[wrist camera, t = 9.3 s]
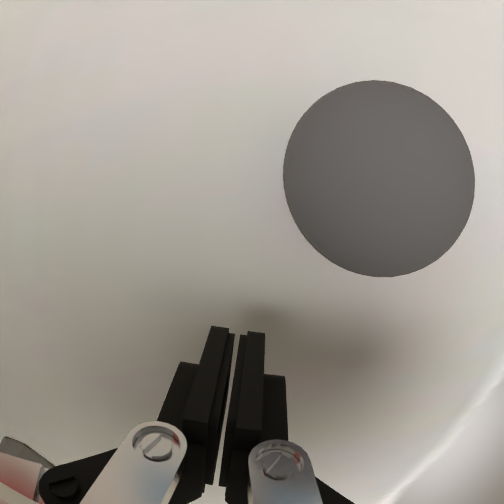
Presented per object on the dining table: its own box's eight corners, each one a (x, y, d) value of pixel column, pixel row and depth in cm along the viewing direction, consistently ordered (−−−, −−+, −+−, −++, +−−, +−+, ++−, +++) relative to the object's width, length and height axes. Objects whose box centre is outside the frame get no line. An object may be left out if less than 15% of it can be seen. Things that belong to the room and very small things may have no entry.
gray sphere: (449, 32, 4) (294, 50, 8) (339, 299, 5) (220, 206, 10) (514, 162, 7) (392, 131, 11) (447, 322, 8) (338, 251, 13)
